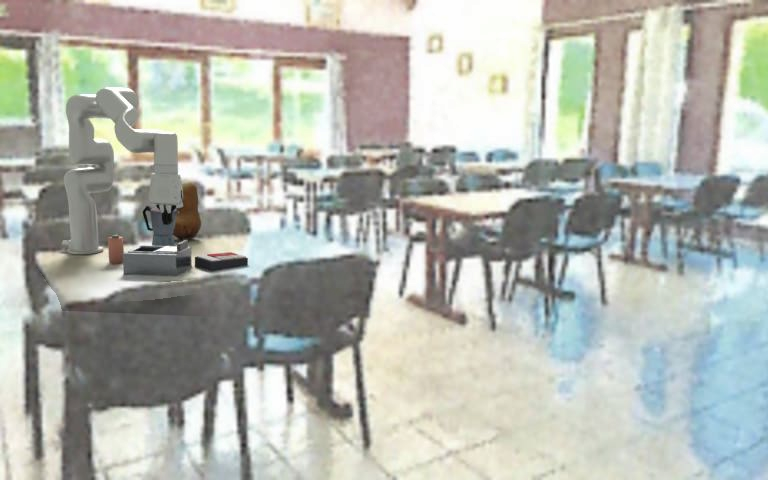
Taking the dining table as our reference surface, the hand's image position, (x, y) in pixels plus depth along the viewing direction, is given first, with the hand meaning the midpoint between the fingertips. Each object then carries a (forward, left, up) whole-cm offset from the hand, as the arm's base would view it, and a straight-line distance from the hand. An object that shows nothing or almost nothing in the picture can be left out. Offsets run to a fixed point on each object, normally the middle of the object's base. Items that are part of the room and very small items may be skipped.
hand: (167, 224), depth 225 cm
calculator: (+15, +10, -17) cm, 25 cm away
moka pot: (-13, +25, -16) cm, 32 cm away
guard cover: (+2, 0, -9) cm, 9 cm away
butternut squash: (-15, +55, -16) cm, 59 cm away
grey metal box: (-4, 0, -16) cm, 16 cm away
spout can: (-23, +9, -16) cm, 29 cm away
